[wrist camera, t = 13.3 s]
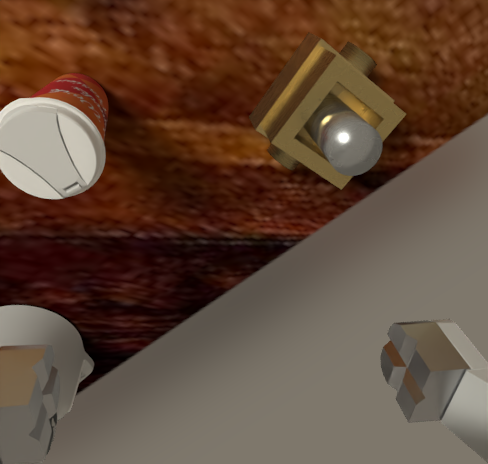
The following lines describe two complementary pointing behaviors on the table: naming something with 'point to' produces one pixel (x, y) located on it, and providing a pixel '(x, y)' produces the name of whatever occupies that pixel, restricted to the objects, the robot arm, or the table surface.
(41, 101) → the paper cup
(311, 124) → the silver metal cylinder
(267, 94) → the valve body
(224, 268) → the table surface
